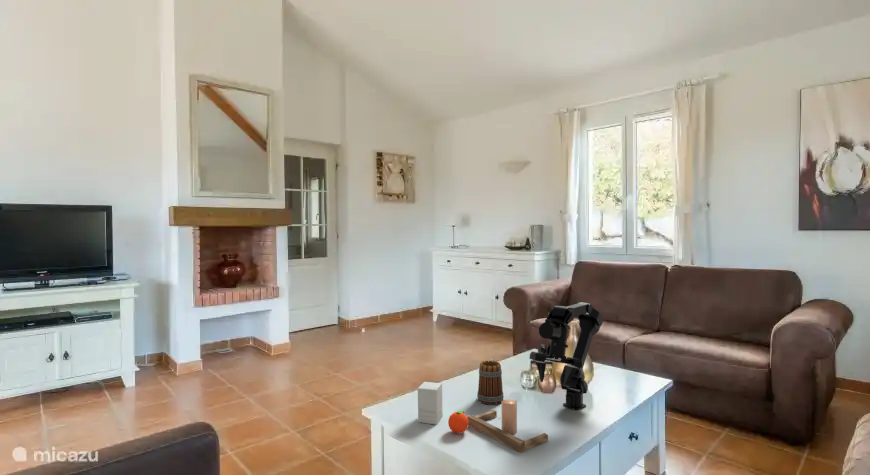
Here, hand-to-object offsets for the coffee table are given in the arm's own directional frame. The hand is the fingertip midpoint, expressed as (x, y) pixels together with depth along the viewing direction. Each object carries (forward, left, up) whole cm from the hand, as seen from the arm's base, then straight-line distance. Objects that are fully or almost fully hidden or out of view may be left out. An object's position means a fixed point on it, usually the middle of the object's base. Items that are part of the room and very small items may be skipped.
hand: (553, 383), depth 170 cm
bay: (+21, -3, -13) cm, 25 cm away
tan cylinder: (+20, -3, -13) cm, 24 cm away
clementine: (+34, -13, -13) cm, 39 cm away
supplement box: (+36, -27, -13) cm, 47 cm away
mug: (+4, -29, -13) cm, 32 cm away
